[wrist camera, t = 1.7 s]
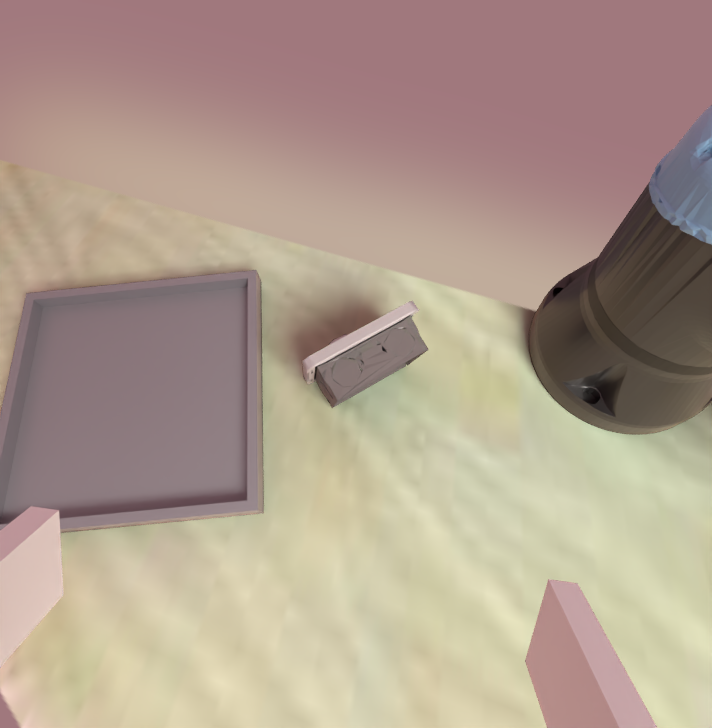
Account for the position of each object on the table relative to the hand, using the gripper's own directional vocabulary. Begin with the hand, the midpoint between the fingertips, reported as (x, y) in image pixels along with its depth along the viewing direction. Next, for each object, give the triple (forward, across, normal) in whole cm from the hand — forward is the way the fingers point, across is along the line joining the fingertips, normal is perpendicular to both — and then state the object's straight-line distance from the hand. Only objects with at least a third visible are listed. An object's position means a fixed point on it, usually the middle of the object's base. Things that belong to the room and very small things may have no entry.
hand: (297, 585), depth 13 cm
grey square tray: (+28, -18, -8) cm, 34 cm away
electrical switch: (+30, +1, -3) cm, 30 cm away
